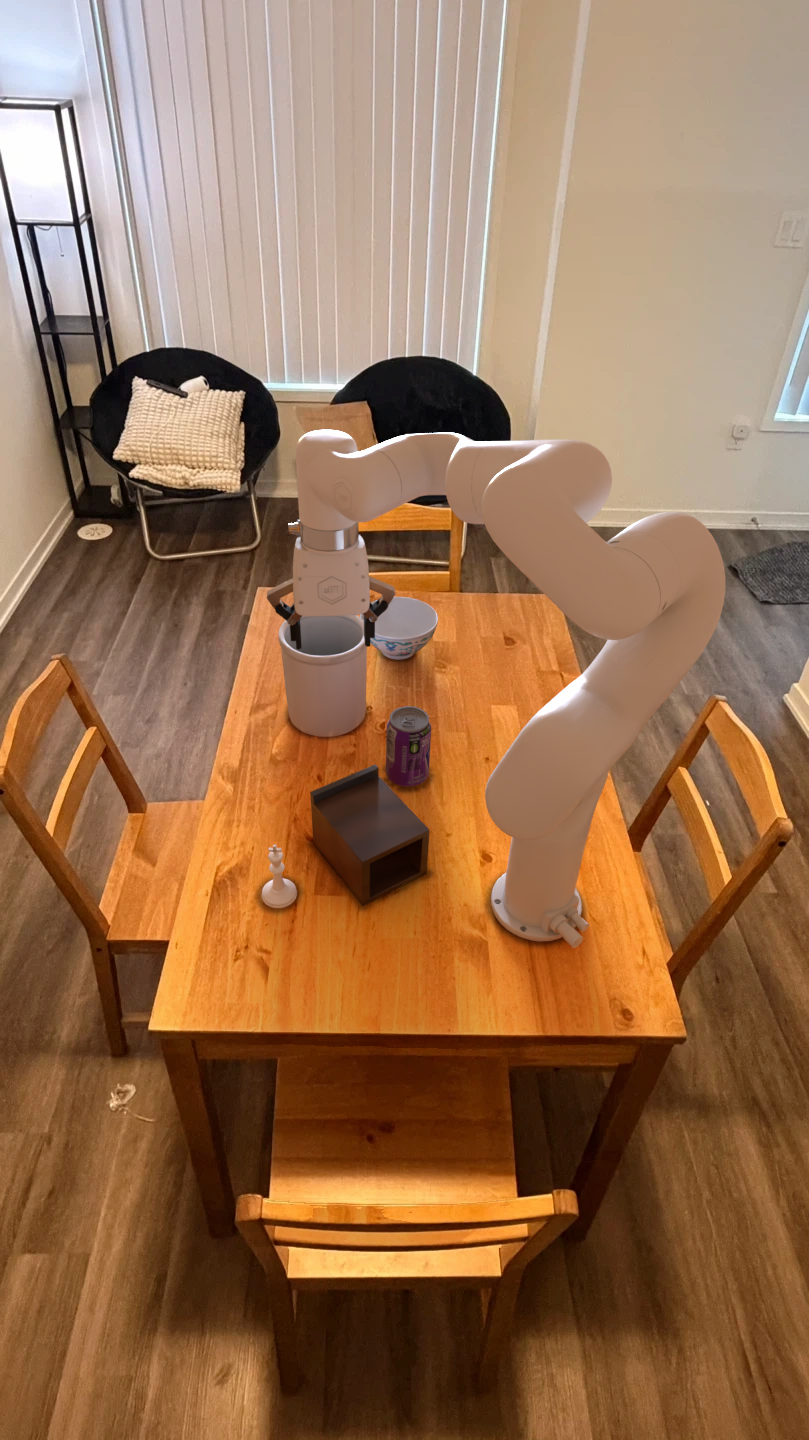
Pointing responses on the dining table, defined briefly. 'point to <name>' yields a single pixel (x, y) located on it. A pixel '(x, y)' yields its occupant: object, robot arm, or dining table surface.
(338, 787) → the open box
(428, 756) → the beverage can
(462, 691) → the dining table surface
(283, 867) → the chess piece
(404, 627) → the chinaware
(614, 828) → the dining table surface
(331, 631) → the utensil holder
